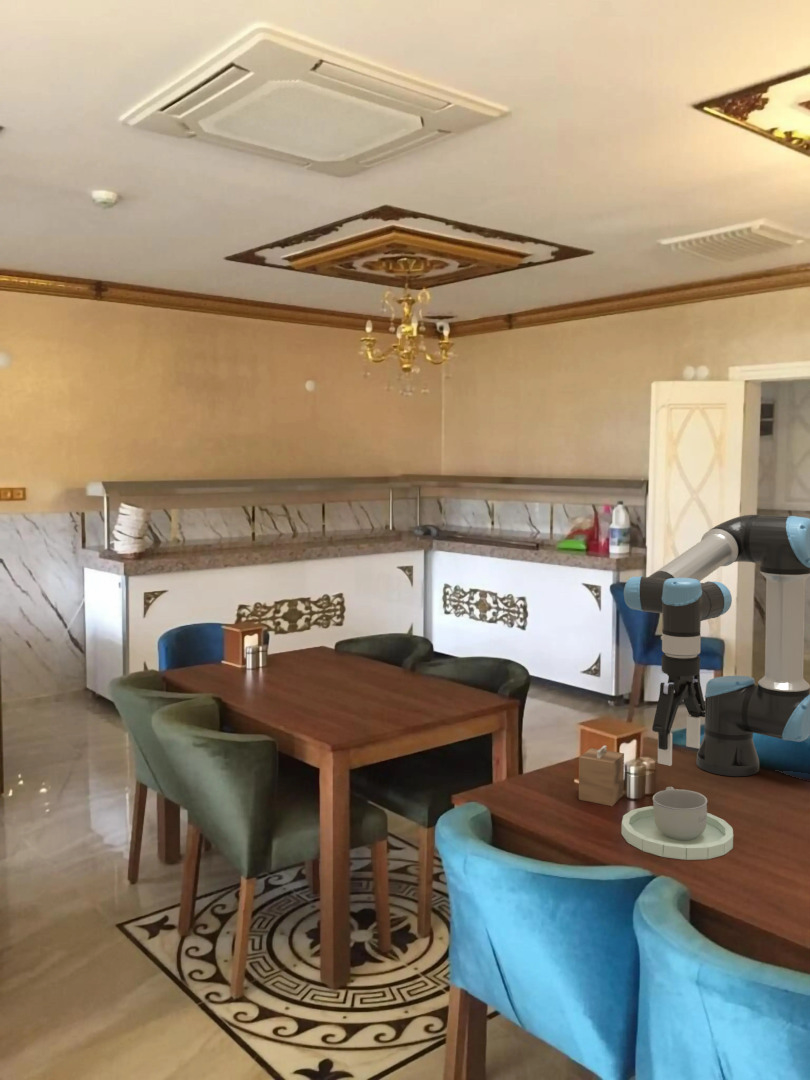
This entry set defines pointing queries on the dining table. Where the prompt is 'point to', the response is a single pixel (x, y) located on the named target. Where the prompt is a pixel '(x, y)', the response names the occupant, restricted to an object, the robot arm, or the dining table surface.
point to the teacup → (680, 813)
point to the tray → (650, 839)
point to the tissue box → (601, 776)
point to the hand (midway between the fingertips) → (679, 755)
